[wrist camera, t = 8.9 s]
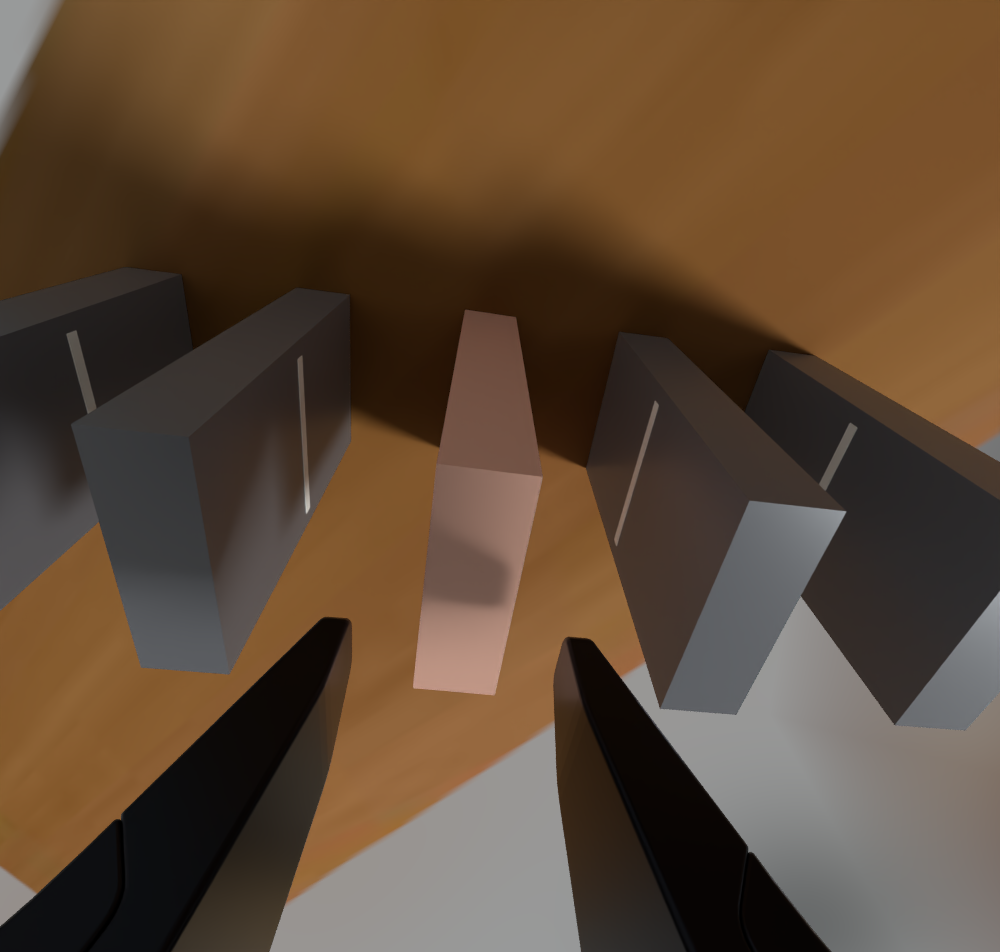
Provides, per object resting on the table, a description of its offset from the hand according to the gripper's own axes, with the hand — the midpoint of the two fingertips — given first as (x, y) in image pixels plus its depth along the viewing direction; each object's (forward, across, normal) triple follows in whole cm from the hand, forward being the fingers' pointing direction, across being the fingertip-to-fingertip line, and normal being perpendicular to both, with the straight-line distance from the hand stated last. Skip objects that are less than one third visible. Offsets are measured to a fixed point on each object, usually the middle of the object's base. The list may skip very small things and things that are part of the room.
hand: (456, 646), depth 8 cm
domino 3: (+11, 0, 0) cm, 11 cm away
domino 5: (+11, -10, 0) cm, 15 cm away
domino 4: (+11, -5, 0) cm, 12 cm away
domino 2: (+11, +5, 0) cm, 12 cm away
